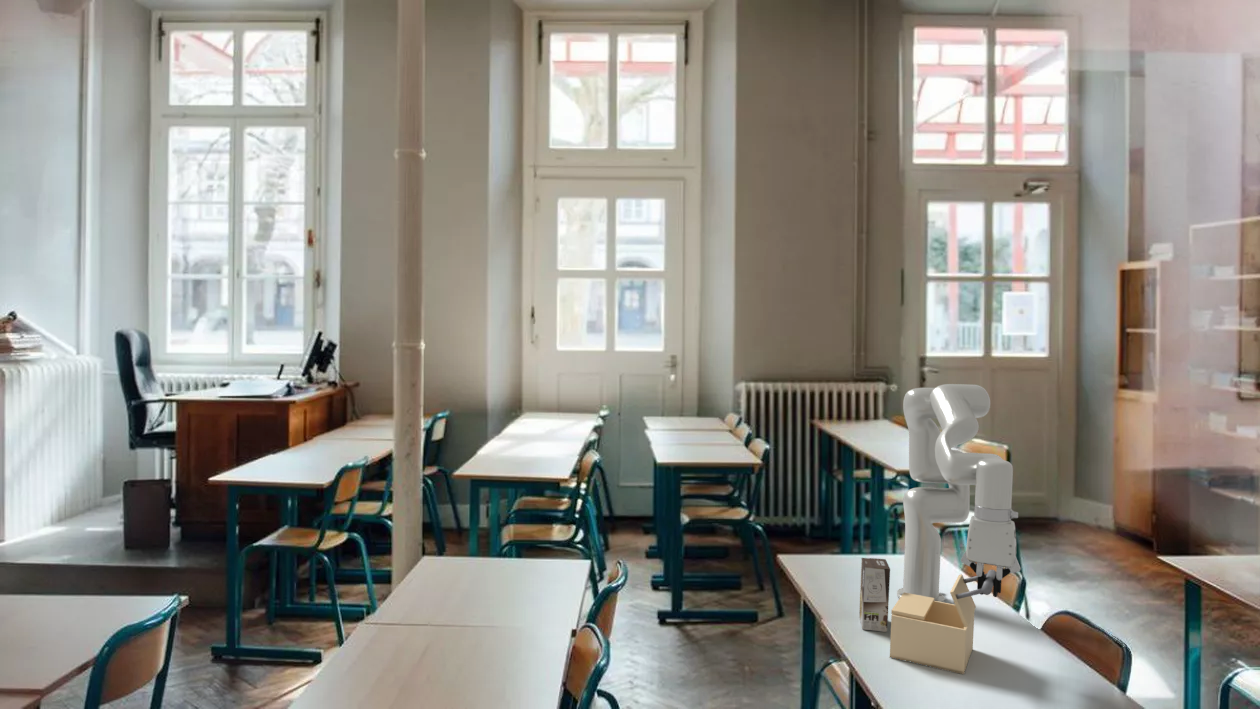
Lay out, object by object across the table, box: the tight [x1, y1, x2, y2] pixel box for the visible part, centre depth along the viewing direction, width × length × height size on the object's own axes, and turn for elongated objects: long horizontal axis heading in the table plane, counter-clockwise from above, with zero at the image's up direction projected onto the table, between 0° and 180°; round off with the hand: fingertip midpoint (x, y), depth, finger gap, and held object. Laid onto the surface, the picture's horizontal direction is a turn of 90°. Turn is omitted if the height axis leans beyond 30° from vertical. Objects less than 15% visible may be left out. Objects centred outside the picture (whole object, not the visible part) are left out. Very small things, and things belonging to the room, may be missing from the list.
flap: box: [949, 569, 997, 627], centre depth 181 cm, size 8×14×8 cm
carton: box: [889, 592, 975, 675], centre depth 187 cm, size 16×16×11 cm
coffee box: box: [858, 557, 891, 633], centre depth 204 cm, size 9×6×16 cm
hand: (988, 593), depth 180 cm, fingers closed on flap, 2 cm apart
